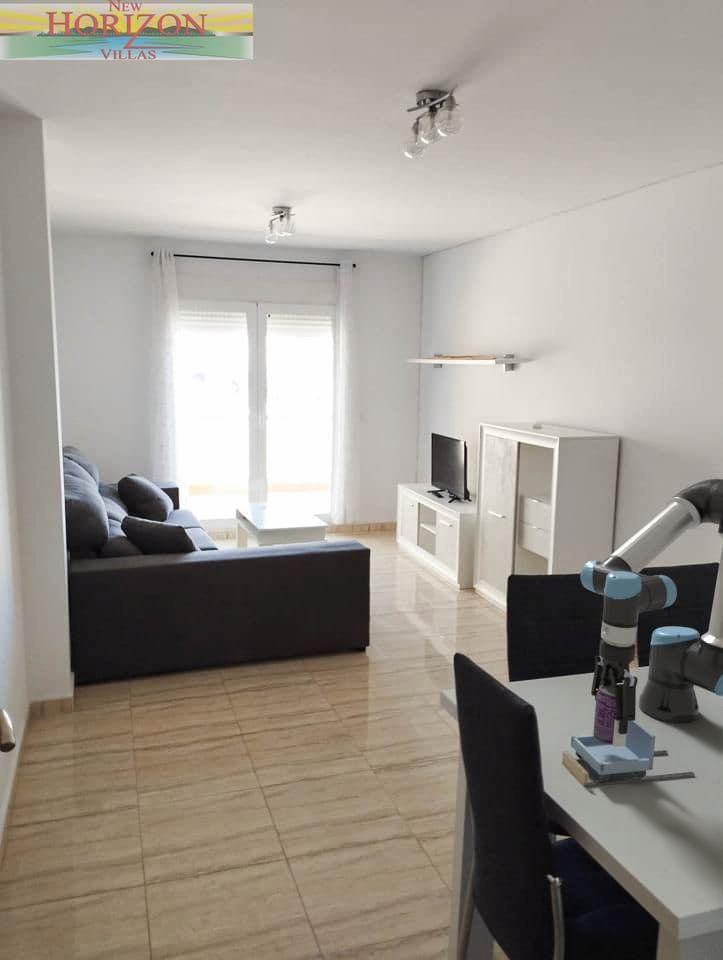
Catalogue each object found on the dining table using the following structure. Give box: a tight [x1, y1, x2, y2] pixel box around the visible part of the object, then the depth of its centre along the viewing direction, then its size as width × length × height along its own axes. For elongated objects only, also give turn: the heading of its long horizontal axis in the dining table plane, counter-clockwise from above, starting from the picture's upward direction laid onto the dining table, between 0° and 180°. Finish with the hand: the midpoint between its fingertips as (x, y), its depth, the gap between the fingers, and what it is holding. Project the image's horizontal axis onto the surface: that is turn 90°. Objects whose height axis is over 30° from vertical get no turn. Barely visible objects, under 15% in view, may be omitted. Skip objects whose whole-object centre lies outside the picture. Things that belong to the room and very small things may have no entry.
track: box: [561, 749, 695, 788], centre depth 175 cm, size 28×11×3 cm, turn 103°
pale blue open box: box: [570, 719, 657, 782], centre depth 173 cm, size 13×13×10 cm
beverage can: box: [592, 685, 623, 745], centre depth 172 cm, size 7×7×12 cm
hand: (609, 737), depth 173 cm, fingers closed on beverage can, 7 cm apart
